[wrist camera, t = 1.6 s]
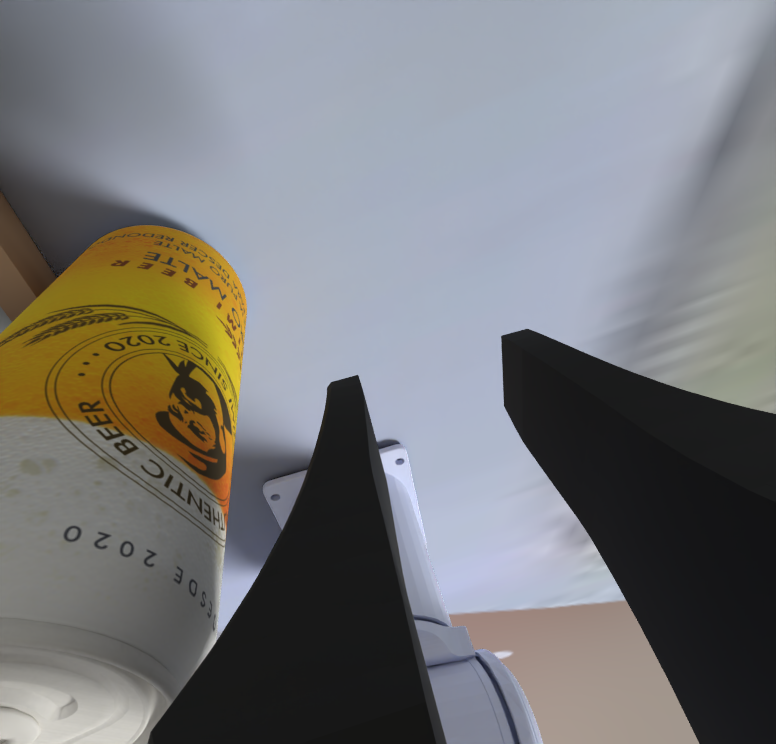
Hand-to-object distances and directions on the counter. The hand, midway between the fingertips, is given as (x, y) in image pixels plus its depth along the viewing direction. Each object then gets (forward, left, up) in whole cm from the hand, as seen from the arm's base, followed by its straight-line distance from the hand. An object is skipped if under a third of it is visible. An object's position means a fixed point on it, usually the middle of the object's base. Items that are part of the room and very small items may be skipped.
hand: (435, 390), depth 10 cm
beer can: (0, +8, -11) cm, 13 cm away
